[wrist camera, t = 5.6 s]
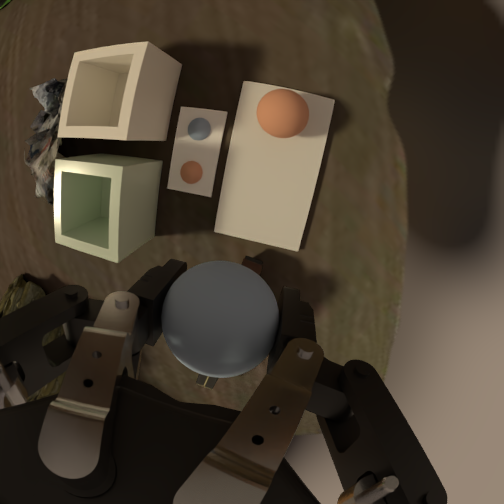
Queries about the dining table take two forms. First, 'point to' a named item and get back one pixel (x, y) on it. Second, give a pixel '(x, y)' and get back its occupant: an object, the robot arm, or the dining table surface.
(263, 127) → the terracotta ball
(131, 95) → the cream cup
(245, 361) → the blue ball
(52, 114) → the foil
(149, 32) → the dining table surface
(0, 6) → the running shoe
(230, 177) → the felt mat
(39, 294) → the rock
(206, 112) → the card
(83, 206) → the sage cup
